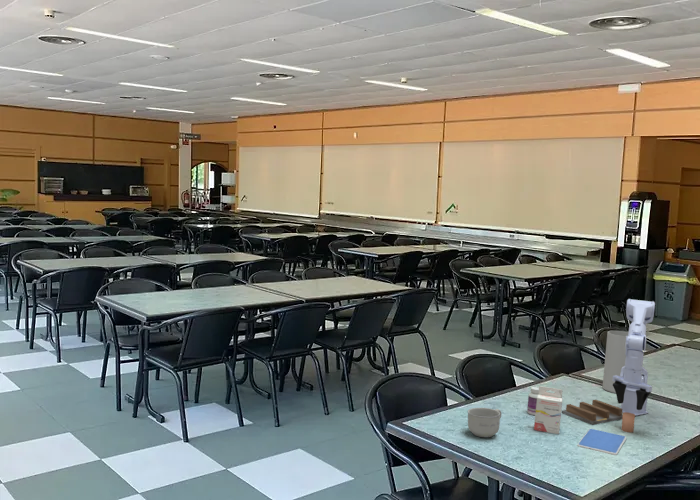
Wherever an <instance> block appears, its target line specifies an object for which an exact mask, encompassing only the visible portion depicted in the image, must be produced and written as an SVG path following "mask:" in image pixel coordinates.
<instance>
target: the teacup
mask: <svg viewBox="0 0 700 500" xmlns="http://www.w3.org/2000/svg"><path fill="white" fill-rule="evenodd" d="M501 418H502V411H501V409H499V408H494V409H493V408H489V407H472V408H470V409H468V410H467V426H468V429H469V431H470V432H471V433H472V435H474V436H475V437H480V438H491V437H493V436H495V434H497V433H498V432H499V431H500V425H501V424H500V423H501V421H500V420H501Z"/></svg>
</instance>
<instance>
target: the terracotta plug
mask: <svg viewBox="0 0 700 500" xmlns="http://www.w3.org/2000/svg"><path fill="white" fill-rule="evenodd" d="M622 415H623V417H622V419H621V431H622V432H625V433H629V434H630V433H634V430H635V421H636V419H635V417H636V416H635V414H633V413H628V412H624V413H623V412H622Z"/></svg>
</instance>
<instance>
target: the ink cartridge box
mask: <svg viewBox="0 0 700 500" xmlns="http://www.w3.org/2000/svg"><path fill="white" fill-rule="evenodd" d="M538 388H539V393H538V396H537V403H536V413H535V415H534V424H533V425H534V427H533V430H534V431H538V432H543V433H544V432H545V433H549V434H555V435H559V434H560V428H561V427H560V426H561V421H562V420H561V419H562V411H563V410H562V408H563V389H561V388H554V387H548V386H542V385H539V387H538ZM549 391H550V392H549Z"/></svg>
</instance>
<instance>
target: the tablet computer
mask: <svg viewBox="0 0 700 500" xmlns="http://www.w3.org/2000/svg"><path fill="white" fill-rule="evenodd" d="M626 440H627V437H626V436H625V435H620V434H617V433H612V432H607V431H603V430H598V429H593V428H589V429H588V430H587V431H586V433H585V434H584V435H583V436H582V437H581V439H580V440H579V442H578V443H577V445H576V446H577V447H579V448H582V449H586V450H587V449H588V450H591V451H595V452H599V453H603V454H607V455H612V456H618V455H619V453H620V450H621V449H622V448H623V445H624V444H625V442H626Z"/></svg>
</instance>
